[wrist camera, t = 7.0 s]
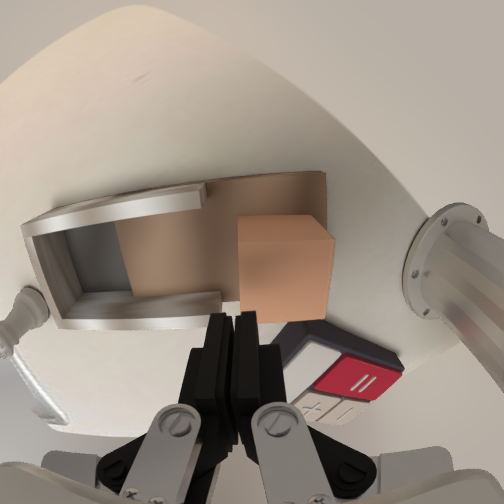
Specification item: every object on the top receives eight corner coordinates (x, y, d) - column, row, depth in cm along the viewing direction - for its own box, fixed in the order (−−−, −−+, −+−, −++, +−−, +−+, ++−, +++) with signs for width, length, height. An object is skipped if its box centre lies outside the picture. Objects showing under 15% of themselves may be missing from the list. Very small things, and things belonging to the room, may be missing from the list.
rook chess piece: (24, 277, 20) (-21, 318, 13) (53, 301, 22) (13, 350, 14) (20, 304, 22) (-18, 345, 14) (47, 327, 23) (13, 374, 16)
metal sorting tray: (319, 170, 19) (342, 179, 14) (319, 281, 22) (336, 312, 18) (51, 209, 18) (20, 225, 14) (80, 301, 22) (58, 328, 18)
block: (310, 214, 18) (335, 239, 14) (306, 279, 20) (324, 318, 16) (237, 215, 18) (238, 242, 13) (239, 282, 20) (240, 324, 15)
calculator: (344, 428, 27) (238, 413, 23) (334, 403, 31) (236, 380, 27) (409, 373, 24) (311, 339, 19) (393, 348, 28) (298, 307, 23)
